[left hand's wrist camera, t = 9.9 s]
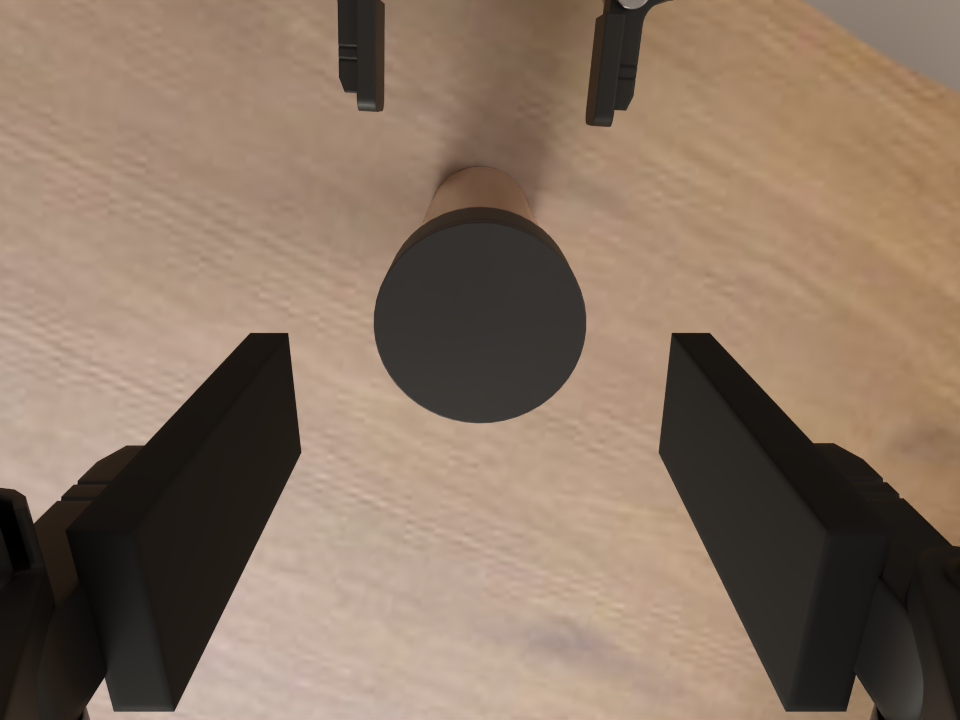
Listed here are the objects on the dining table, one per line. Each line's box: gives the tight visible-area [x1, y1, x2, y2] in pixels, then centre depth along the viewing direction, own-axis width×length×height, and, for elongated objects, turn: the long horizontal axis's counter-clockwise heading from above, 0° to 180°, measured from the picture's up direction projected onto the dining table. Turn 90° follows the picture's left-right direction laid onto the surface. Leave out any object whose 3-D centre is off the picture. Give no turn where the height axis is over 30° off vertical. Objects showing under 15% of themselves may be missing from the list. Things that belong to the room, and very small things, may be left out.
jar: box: [422, 167, 538, 226], centre depth 26 cm, size 5×5×16 cm
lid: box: [374, 207, 586, 423], centre depth 19 cm, size 6×6×2 cm
